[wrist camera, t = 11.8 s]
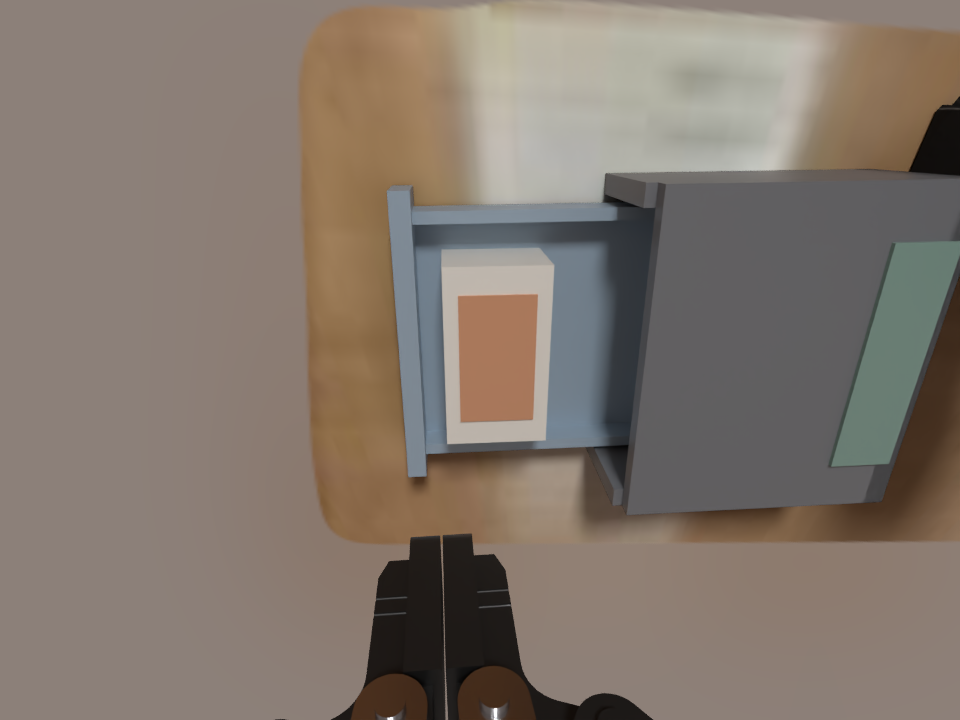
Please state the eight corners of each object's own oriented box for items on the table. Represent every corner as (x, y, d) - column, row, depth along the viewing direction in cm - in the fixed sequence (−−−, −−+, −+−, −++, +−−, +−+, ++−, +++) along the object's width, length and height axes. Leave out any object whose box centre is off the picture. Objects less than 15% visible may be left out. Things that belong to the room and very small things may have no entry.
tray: (670, 180, 27) (694, 185, 24) (638, 439, 33) (655, 465, 30) (392, 185, 26) (386, 191, 24) (411, 449, 32) (408, 477, 30)
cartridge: (539, 247, 27) (554, 265, 24) (533, 403, 31) (546, 441, 27) (441, 249, 27) (441, 267, 23) (446, 406, 30) (447, 445, 27)
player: (871, 169, 28) (997, 178, 21) (802, 436, 34) (884, 504, 28) (605, 173, 27) (655, 184, 21) (585, 445, 33) (618, 518, 27)
